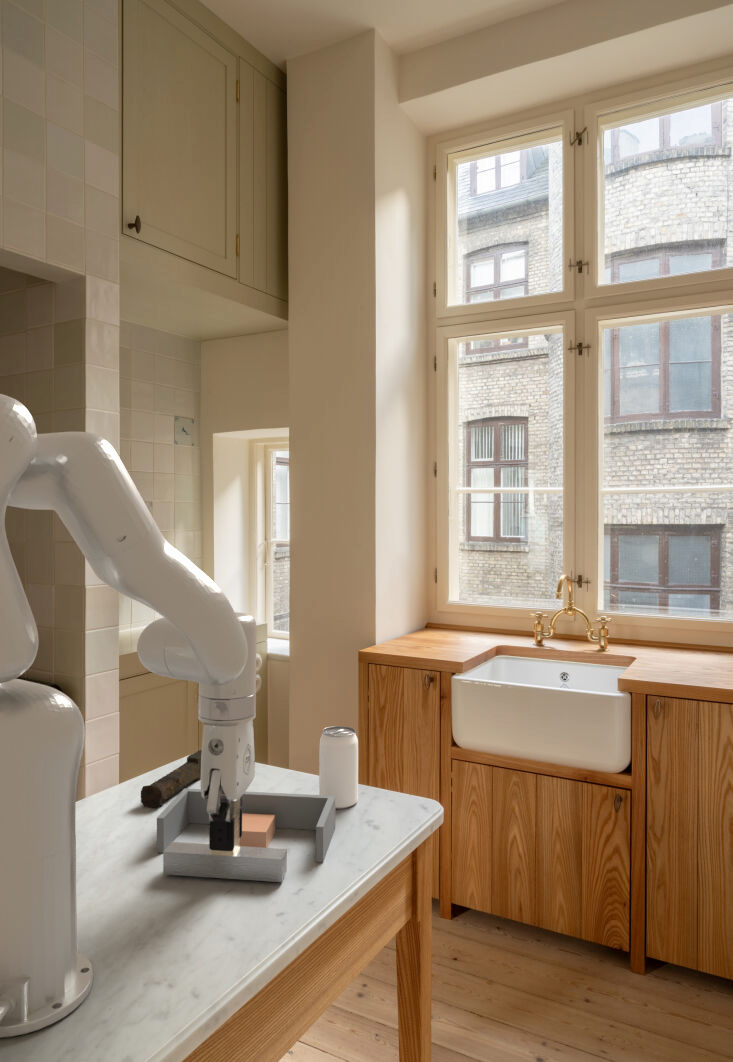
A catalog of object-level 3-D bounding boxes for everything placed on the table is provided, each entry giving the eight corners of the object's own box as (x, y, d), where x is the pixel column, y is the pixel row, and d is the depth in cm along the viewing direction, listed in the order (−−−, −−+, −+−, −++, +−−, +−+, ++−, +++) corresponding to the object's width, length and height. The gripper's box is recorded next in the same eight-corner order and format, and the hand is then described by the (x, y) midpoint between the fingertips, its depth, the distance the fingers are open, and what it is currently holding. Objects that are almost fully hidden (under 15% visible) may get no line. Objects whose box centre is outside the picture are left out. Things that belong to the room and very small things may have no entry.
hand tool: (159, 811, 120) (160, 783, 120) (139, 808, 121) (139, 780, 121) (221, 773, 138) (222, 748, 137) (203, 769, 139) (203, 745, 139)
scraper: (281, 882, 96) (282, 806, 96) (163, 874, 98) (163, 799, 98) (286, 871, 99) (287, 797, 99) (171, 863, 101) (172, 790, 101)
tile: (266, 852, 106) (266, 832, 106) (225, 850, 107) (225, 830, 106) (275, 834, 112) (275, 814, 112) (236, 832, 113) (236, 813, 112)
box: (323, 862, 103) (323, 826, 102) (156, 852, 105) (156, 817, 105) (335, 828, 114) (335, 795, 113) (184, 819, 116) (184, 788, 116)
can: (365, 801, 124) (366, 730, 123) (338, 813, 119) (338, 739, 119) (338, 791, 128) (338, 722, 128) (311, 802, 123) (311, 731, 123)
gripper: (238, 724, 90) (236, 874, 90) (269, 692, 106) (267, 819, 106) (178, 722, 90) (176, 871, 91) (218, 690, 107) (217, 817, 107)
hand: (226, 842), depth 99 cm, fingers closed on scraper, 3 cm apart
